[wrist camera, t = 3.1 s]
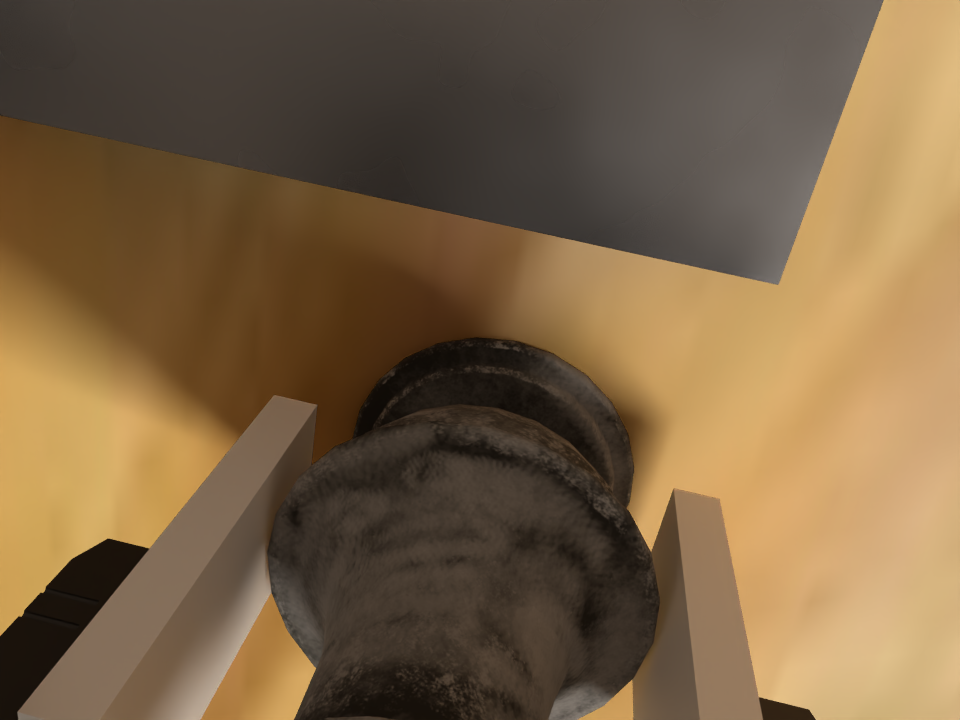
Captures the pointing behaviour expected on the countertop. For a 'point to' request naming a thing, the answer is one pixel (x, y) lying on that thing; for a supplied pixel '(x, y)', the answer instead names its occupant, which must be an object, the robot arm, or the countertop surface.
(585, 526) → the salt shaker
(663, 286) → the countertop surface
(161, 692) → the robot arm
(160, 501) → the countertop surface
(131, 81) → the plate
